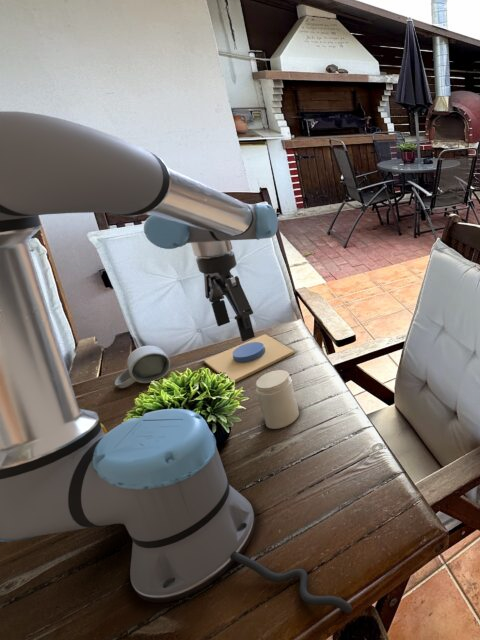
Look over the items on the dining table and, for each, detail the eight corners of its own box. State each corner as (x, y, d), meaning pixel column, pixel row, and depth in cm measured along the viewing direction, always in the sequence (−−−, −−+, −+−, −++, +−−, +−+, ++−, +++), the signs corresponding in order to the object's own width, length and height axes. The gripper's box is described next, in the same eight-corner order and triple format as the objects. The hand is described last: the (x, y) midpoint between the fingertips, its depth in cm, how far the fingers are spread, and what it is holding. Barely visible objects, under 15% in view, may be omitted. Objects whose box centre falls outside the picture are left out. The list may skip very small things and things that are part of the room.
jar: (305, 414, 89) (296, 376, 86) (275, 433, 84) (264, 393, 80) (289, 403, 93) (279, 365, 89) (259, 420, 88) (248, 381, 84)
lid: (270, 353, 110) (269, 347, 110) (241, 366, 105) (239, 360, 104) (257, 344, 114) (256, 339, 114) (228, 357, 109) (227, 351, 108)
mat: (294, 353, 112) (294, 350, 111) (231, 384, 99) (231, 381, 99) (265, 336, 120) (265, 333, 120) (204, 362, 107) (203, 360, 107)
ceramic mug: (166, 361, 108) (157, 337, 105) (175, 373, 103) (165, 348, 100) (114, 382, 100) (102, 356, 97) (120, 395, 95) (108, 369, 92)
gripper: (256, 258, 92) (275, 338, 99) (210, 241, 105) (229, 312, 112) (220, 268, 86) (242, 352, 93) (175, 248, 99) (198, 323, 106)
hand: (235, 331), depth 103 cm, fingers open, 13 cm apart
